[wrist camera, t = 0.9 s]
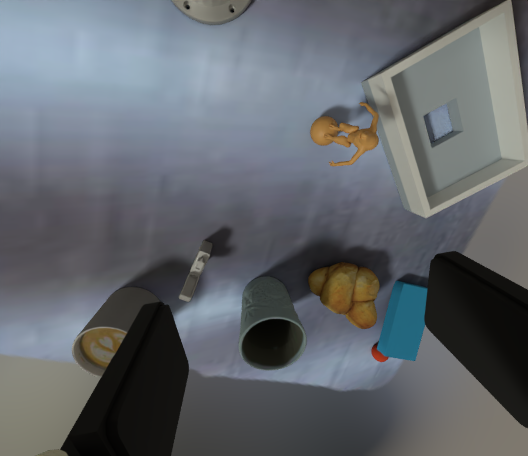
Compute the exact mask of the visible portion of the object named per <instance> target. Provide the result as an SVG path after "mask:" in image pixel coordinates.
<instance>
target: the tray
mask: <svg viewBox="0 0 528 456" xmlns="http://www.w3.org/2000/svg"><path fill="white" fill-rule="evenodd" d="M361 84H362V87H363V89H364V92H365V95H366V98H367V101H368V104H369V106H371V107H372V109H373V110H374V111H376V112H377V113H378V114H379V118H378V123H377V130H378V133H379V136H380V139H381V142H382V145H383V148H384V151H385V154H386V157H387V160H388V163H389V165H390V168H391V171H392V174H393V177H394V180H395V183H396V186H397V189H398V192H399V195H400V198H401V201H402V203H403V206H404V209H406V210H408V211H411V212H413V213H415V214H418V215H420V216H422V217H425V218H427V217H429V216H431V215H433V214H435V213H437V212H439V211H441V210H443V209H445V208H447V207H449V206H451V205H453V204H454V203H456V202H458V201H460V200H462V199H464V198H466V197H468V196H470V195H472V194H474V193H476V192H478V191H480V190H482V189H484V188H486V187H487V186H489V185H491V184H493V183H495V182H497V181H499V180H501V179H503V178H505V177H507V176H509V175H511V174H513V173H515V172H516V171H519V170H520V169H522V168H524V167H526V166H528V127H527V120H526V112H525V104H524V96H523V88H522V80H521V72H520V65H519V57H518V49H517V41H516V33H515V25H514V17H513V9H512V2H511V0H507V1H505V2H503V3H501V4H499V5H497V6H495V7H493V8H491V9H489V10H487V11H485V12H483V13H481V14H480V15H478V16H476V17H474V18H472V19H470V20H468V21H467V22H465V23H463V24H461V25H460V26H458V27H456V28H454V29H453V30H451V31H449V32H448V33H446V34H444V35H442V36H441V37H439V38H437V39H435V40H434V41H432V42H430V43H429V44H427V45H425V46H423V47H422V48H420V49H418V50H417V51H415V52H413V53H411V54H410V55H408V56H406V57H404V58H403V59H401V60H399V61H398V62H396V63H394V64H392V65H391V66H389V67H387V68H386V69H384V70H382V71H380V72H379V73H377V74H375V75H373V76H372V77H370V78H368V79H367V80H365V81H363V82H361ZM446 103H447V107H448V112H449V116H450V120H451V124H452V129H453V132H451V133H450V134H448V135H446V136H444V137H442V138H440V139H438V140H437V141H435V142H433V143H430V140H429V136H428V132H427V129H426V125H425V121H424V118H423V116H424V115H426V114H428V113H430V112H431V111H433V110H435V109H437V108H439V107H440V106H442V105H444V104H446ZM372 116H373V115H372ZM373 118H374V116H373Z"/></svg>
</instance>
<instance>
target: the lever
mask: <svg viewBox="0 0 528 456" xmlns="http://www.w3.org/2000/svg"><path fill="white" fill-rule="evenodd" d="M427 289H428V288H427V287H423V286H419V285H414V284H410V283H405V282H401V281H396V282H395V284H394V286H393V290H392V294H391V298H390V301H389V305H388V309H387V313H386V316H385V320H384V324H383V328H382V331H381V335H380V339H379V343H378V344H376V345H374V346H373V348H372V356H373V357H374V358H375V359H376V360H377V361H379V362H385V361H386V360H387V359H388V358H389V357H393V358H399V359H405V360H412V361H415V359H416V356H417V352H418V349H419V345H420V341H421V337H422V334H423V330H424V327H425V321H424V315H425V306H426V297H427Z"/></svg>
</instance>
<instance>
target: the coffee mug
mask: <svg viewBox="0 0 528 456" xmlns="http://www.w3.org/2000/svg"><path fill="white" fill-rule="evenodd" d="M155 302H160V300H159V299H158V298H157V297H156V296H155V295H154V294H153V293H151V292H149V291H148V290H145V289H142V288H138V287H126V288H122V289H119V290H117V291H115V292H114V293H113V294H112V295H111V296H110V297H109V298H108V299H107V301H106V302H105V303H104V304H103V305H102V307H101V308H100V309H99V310H98V312H97V313H96V314H95V315H94V316H93V318H92V319H91V320H90V321H89V323H88V324H87V325H86V326H85V327H84V329H83V330H82V331H81V332H80V334H79V335H78V336H77V337H76V339H75V341H74V343H73V346H72V354H73V357H74V359H75V362H76V363H77V364H78V365H79V366H80V367H81V368H82V369H83V370H85V371H86V372H88V373H90V374H92V375H94V376H97V377H102V375H103V373H104V372H105V370H106V368H107V366H108V365H109V363H110V361H111V359H112V358H113V356H114V355H115V353H116V352H117V350H118V348H119V346H120V344H121V343H122V341H123V339H124V337H125V336H126V334H127V332H128V330H129V329H130V327H131V325H132V323H133V321H134V320H135V318H136V316H137V314H138V313H139V311H140V309H141V307H142V306H143V305H144V304H149V303H155Z"/></svg>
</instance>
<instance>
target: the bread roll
mask: <svg viewBox="0 0 528 456" xmlns="http://www.w3.org/2000/svg"><path fill="white" fill-rule="evenodd" d="M308 284H309V287H310V289H311V291H312V292H313V293H314V294H316V295H317V296H320V300H321V302H322V304H323V305H325V306H326V307H327V308H329V309H330V310H331V311H333V312H335V313H337V314H343V315H346V318H347V319H348V320H349V321H350V322H351V323H352V324H353V325H355V326H357V327H358V328H361V329H367V328H370V327H372V326H373V325H374V324H375V323H376V320H377V313H376V309H375V304H374V302H373V301H374V300H375V299H376V297H377V293H378V291H379V281H378V278H377V277H376V276H375V274H374V273H373V272H372V271H371V270H370V269H368V268H366V267H358V266H356V265H354V264H351V263H344V262H340V263H337V264H335V265H333V266H330V267H323V268H320V269H317V270H315V271H314V272H312V273H311V274H310V276H309V278H308Z"/></svg>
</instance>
